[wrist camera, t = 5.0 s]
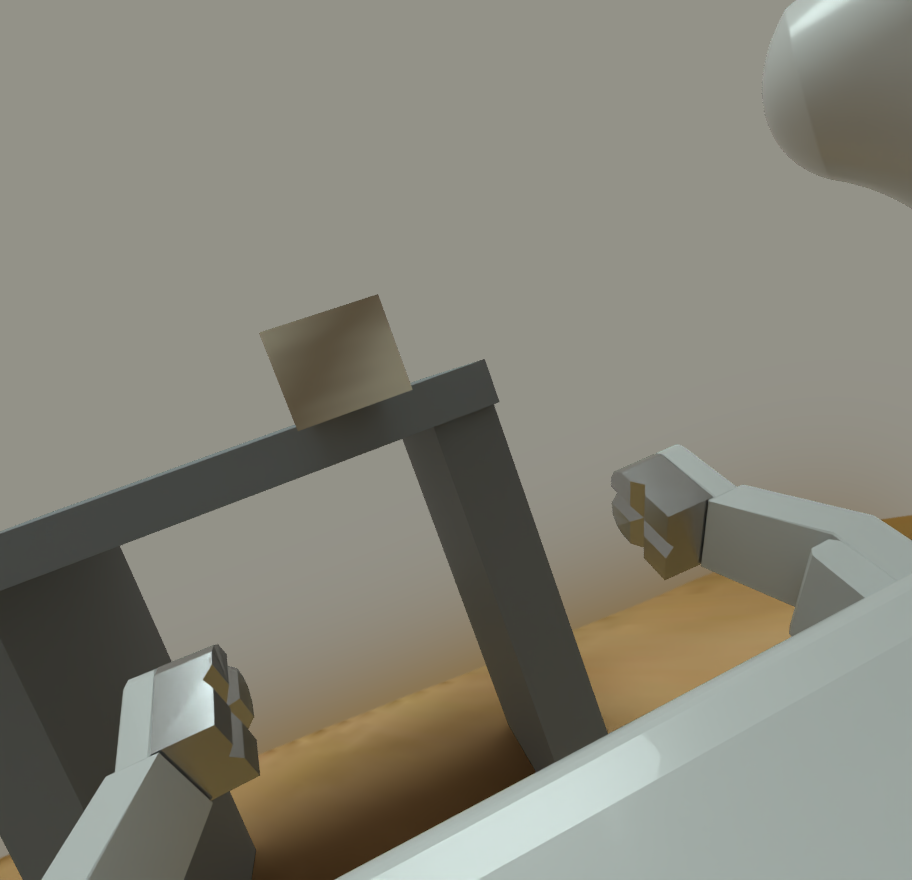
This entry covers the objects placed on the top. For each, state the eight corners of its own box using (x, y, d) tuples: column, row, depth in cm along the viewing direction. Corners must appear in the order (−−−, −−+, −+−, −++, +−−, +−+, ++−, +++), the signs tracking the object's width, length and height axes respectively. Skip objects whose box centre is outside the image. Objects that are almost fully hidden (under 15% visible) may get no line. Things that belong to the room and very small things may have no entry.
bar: (356, 402, 40) (343, 368, 40) (412, 389, 15) (377, 294, 14) (315, 417, 39) (301, 382, 39) (297, 431, 14) (258, 333, 14)
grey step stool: (537, 697, 44) (422, 378, 41) (656, 858, 28) (484, 359, 25) (215, 857, 40) (56, 510, 36) (142, 1156, 24) (-153, 588, 20)
